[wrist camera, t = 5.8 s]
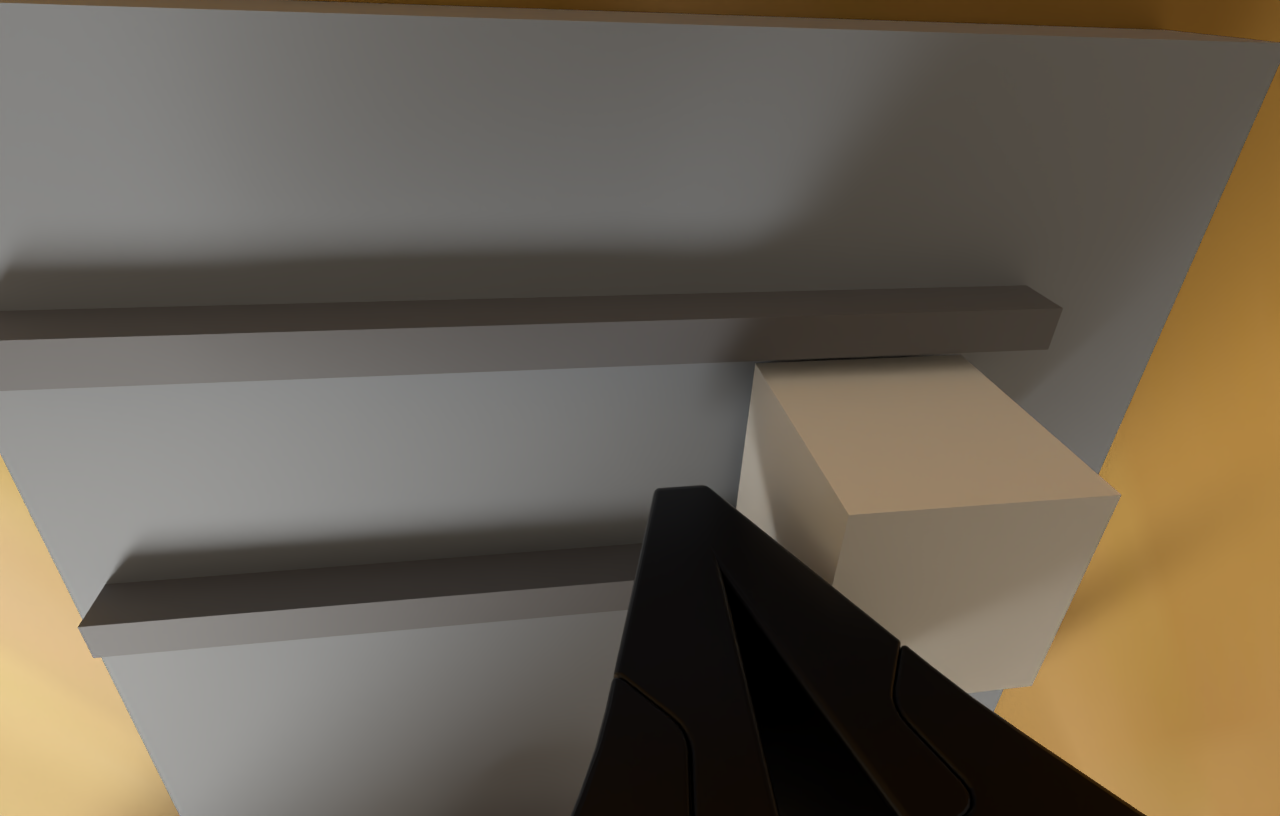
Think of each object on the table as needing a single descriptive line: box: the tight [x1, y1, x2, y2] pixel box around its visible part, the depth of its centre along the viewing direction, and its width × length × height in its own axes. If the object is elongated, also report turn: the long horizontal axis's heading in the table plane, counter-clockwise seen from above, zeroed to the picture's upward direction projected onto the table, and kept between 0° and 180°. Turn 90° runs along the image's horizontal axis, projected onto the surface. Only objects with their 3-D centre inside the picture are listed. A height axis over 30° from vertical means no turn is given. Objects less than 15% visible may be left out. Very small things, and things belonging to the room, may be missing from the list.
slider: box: [736, 355, 1121, 693], centre depth 10 cm, size 3×3×3 cm
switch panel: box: [0, 0, 1280, 816], centre depth 14 cm, size 16×23×3 cm
